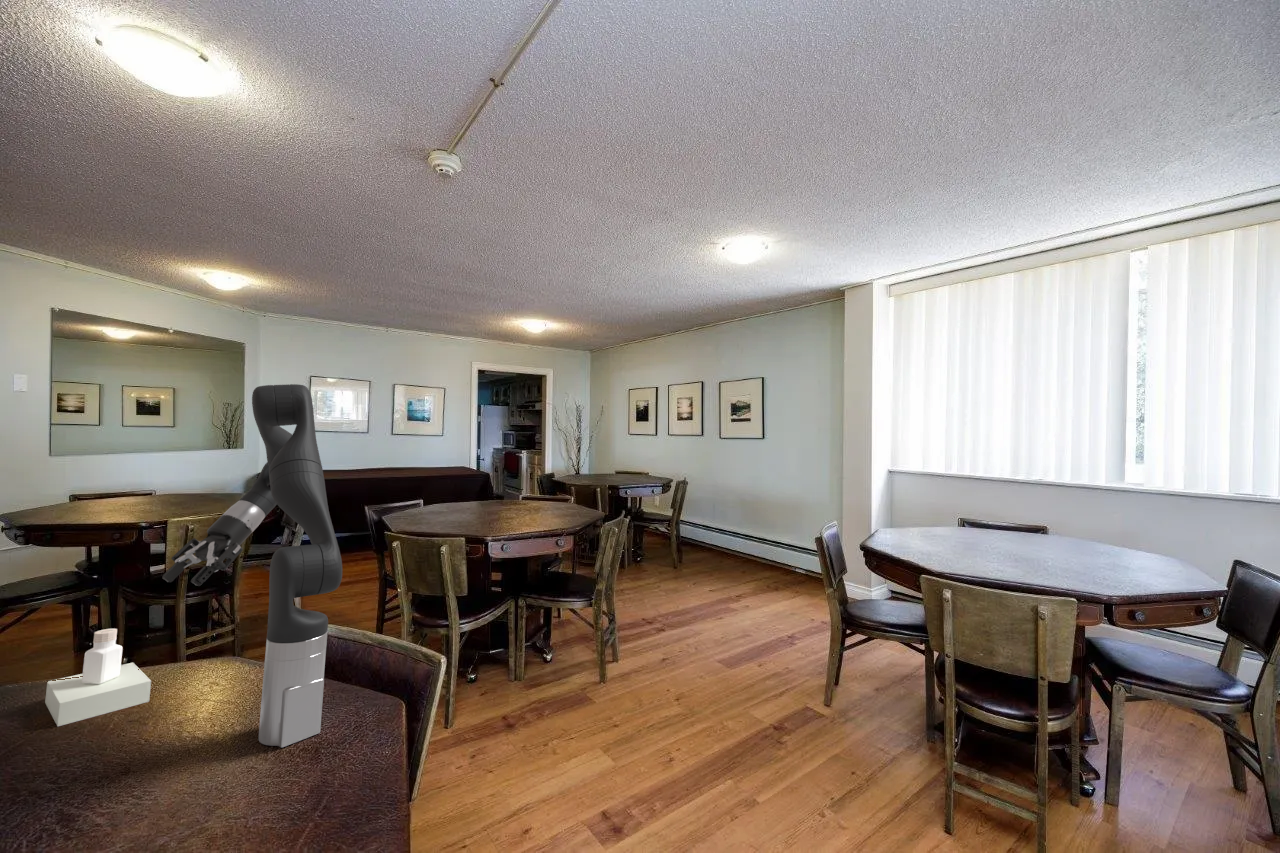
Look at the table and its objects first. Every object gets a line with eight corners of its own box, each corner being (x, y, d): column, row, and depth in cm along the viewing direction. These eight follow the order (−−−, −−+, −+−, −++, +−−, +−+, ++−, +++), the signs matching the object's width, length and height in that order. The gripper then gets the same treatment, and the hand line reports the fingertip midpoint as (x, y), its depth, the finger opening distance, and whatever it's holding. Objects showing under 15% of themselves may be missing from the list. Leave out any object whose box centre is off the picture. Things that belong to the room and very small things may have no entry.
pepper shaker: (100, 685, 98) (105, 634, 98) (79, 684, 98) (84, 634, 98) (121, 676, 102) (126, 628, 102) (101, 675, 102) (106, 627, 102)
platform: (149, 701, 100) (151, 680, 100) (57, 726, 90) (60, 703, 91) (131, 681, 108) (133, 662, 108) (45, 702, 98) (47, 681, 98)
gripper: (204, 512, 123) (143, 569, 111) (250, 515, 119) (192, 575, 108) (225, 531, 128) (168, 588, 116) (269, 535, 124) (216, 594, 112)
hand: (180, 582), depth 112 cm, fingers open, 8 cm apart
